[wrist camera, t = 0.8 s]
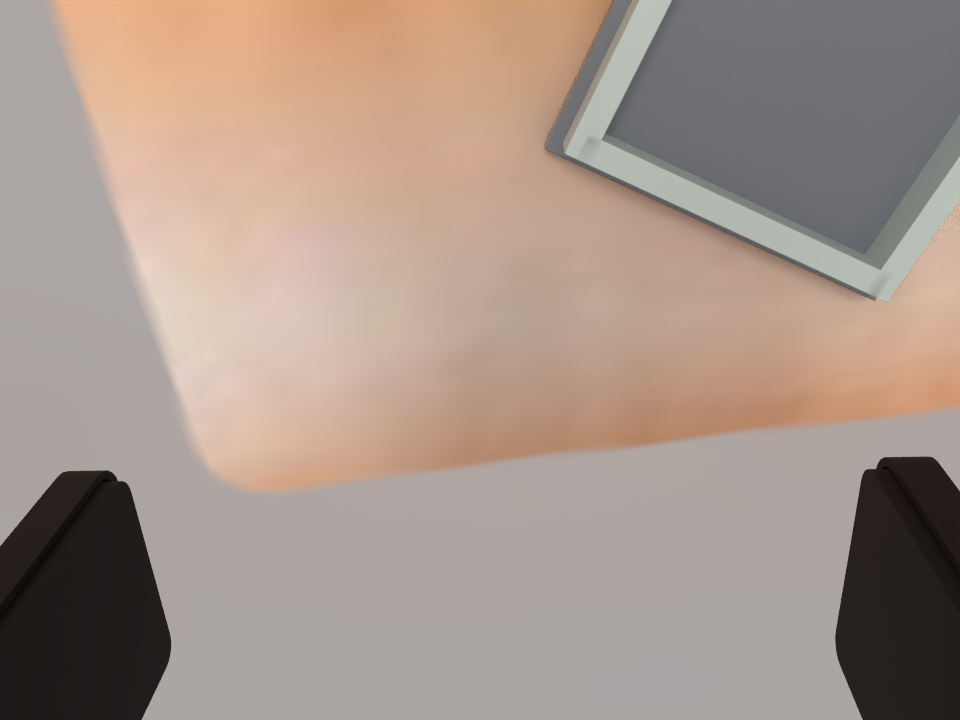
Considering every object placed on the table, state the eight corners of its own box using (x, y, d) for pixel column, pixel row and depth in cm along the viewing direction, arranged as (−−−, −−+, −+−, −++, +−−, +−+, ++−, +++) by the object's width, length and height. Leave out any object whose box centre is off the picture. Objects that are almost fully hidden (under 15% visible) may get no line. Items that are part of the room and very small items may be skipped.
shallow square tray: (760, -310, 29) (783, -332, 26) (1135, -99, 31) (1190, -100, 28) (544, 143, 36) (546, 160, 33) (865, 291, 38) (890, 318, 35)
